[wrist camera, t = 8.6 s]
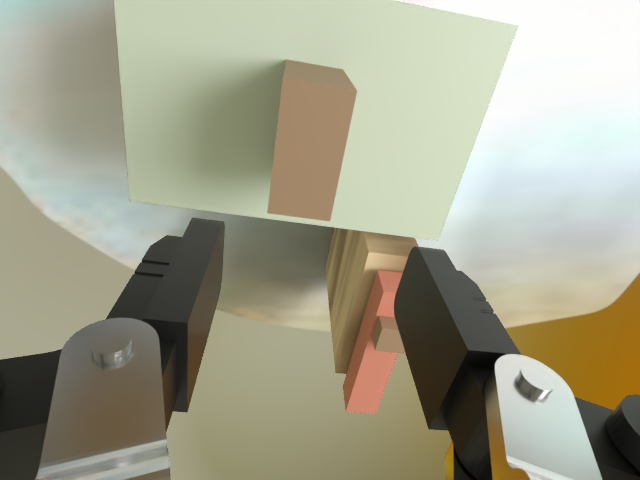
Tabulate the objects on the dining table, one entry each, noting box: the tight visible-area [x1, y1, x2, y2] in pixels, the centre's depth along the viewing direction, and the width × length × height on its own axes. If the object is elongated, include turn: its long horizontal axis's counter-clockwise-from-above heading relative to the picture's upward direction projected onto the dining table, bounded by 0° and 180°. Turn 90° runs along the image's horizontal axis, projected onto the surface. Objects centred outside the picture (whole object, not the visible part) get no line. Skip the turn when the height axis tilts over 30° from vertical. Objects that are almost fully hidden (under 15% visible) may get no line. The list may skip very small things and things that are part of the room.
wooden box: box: [325, 227, 419, 374], centre depth 32 cm, size 20×26×15 cm
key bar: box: [343, 270, 405, 413], centre depth 29 cm, size 2×12×4 cm, turn 170°
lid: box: [114, 0, 518, 241], centre depth 21 cm, size 20×13×8 cm, turn 80°
